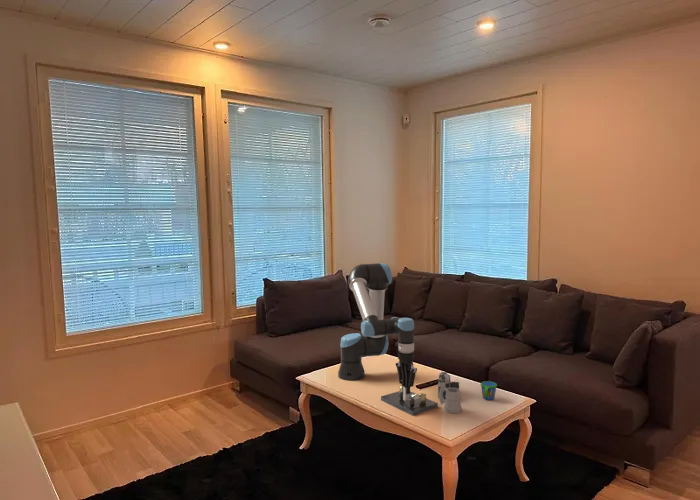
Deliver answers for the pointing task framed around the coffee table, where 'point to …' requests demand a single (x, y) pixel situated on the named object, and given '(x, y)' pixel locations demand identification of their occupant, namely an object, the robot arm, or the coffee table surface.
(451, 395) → the mug
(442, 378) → the camera
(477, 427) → the coffee table surface
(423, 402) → the knob right
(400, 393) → the knob left
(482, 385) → the snack cup
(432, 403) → the control panel
